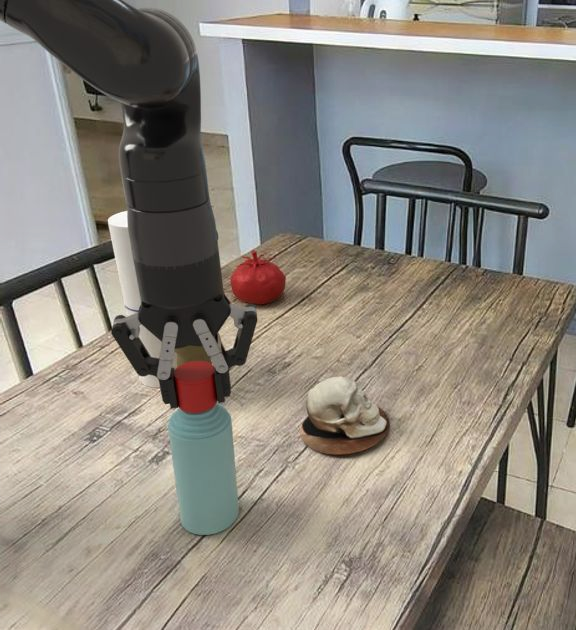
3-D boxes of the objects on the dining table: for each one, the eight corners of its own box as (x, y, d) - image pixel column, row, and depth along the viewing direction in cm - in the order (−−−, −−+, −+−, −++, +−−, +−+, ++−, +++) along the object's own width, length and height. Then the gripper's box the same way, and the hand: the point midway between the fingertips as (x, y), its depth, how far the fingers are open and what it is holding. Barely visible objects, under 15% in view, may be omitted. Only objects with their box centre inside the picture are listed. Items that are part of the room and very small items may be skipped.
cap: (175, 394, 72) (171, 363, 70) (214, 388, 73) (211, 357, 71) (179, 416, 68) (175, 384, 67) (220, 409, 70) (217, 377, 68)
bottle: (179, 539, 74) (159, 398, 66) (181, 499, 80) (163, 364, 71) (239, 530, 76) (228, 391, 67) (237, 491, 81) (226, 358, 73)
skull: (402, 400, 97) (390, 381, 87) (384, 472, 93) (369, 461, 84) (323, 384, 99) (302, 364, 90) (303, 454, 96) (280, 441, 86)
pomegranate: (262, 315, 121) (258, 267, 116) (221, 301, 125) (215, 254, 121) (298, 294, 128) (295, 248, 124) (258, 282, 133) (253, 237, 128)
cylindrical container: (151, 393, 99) (120, 231, 87) (131, 372, 103) (99, 216, 92) (197, 375, 103) (173, 219, 91) (176, 357, 108) (151, 205, 96)
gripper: (85, 269, 58) (121, 432, 66) (257, 256, 61) (271, 413, 69) (97, 238, 64) (129, 389, 72) (252, 227, 67) (266, 373, 75)
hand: (198, 400), depth 70 cm, fingers closed on cap, 4 cm apart
